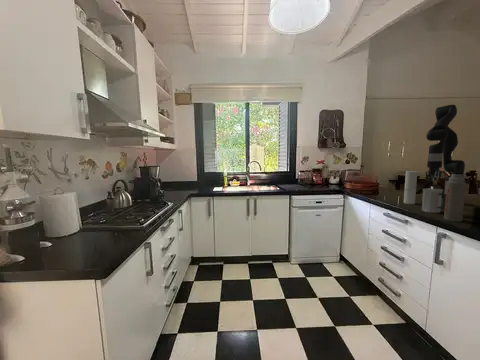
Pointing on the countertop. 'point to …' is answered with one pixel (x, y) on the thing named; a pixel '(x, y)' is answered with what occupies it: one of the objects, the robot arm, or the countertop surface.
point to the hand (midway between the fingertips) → (432, 186)
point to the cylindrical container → (410, 187)
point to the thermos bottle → (455, 197)
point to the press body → (433, 200)
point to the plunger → (434, 184)
